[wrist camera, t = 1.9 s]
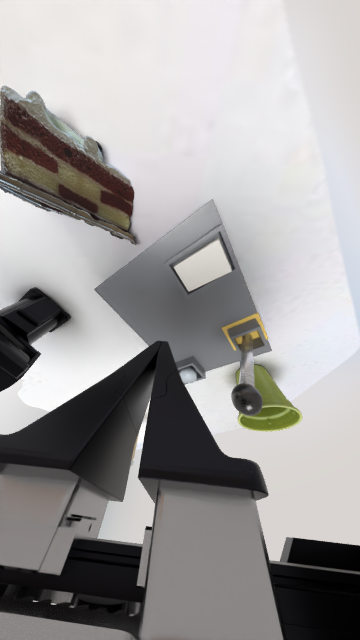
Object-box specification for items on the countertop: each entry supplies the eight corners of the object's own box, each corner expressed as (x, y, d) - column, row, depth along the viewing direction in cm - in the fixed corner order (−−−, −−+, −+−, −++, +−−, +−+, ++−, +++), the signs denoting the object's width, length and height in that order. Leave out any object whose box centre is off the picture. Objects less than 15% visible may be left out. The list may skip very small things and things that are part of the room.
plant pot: (270, 385, 32) (293, 432, 25) (227, 387, 33) (237, 431, 26) (279, 356, 27) (311, 405, 20) (227, 360, 28) (239, 406, 21)
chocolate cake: (160, 177, 15) (-75, -72, 5) (142, 248, 17) (-53, 157, 7) (118, 185, 20) (-37, 67, 11) (108, 238, 22) (-30, 178, 13)
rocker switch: (190, 287, 17) (188, 291, 16) (175, 264, 16) (173, 267, 15) (231, 267, 15) (231, 271, 14) (218, 237, 13) (218, 239, 13)
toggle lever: (235, 341, 21) (227, 413, 13) (239, 327, 20) (234, 399, 12) (254, 346, 21) (257, 426, 12) (260, 332, 19) (269, 412, 11)
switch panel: (182, 368, 31) (180, 388, 27) (103, 282, 21) (84, 295, 17) (265, 339, 25) (279, 360, 21) (210, 201, 15) (217, 194, 11)
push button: (185, 378, 27) (184, 384, 26) (176, 369, 25) (175, 375, 24) (199, 374, 26) (199, 380, 25) (191, 364, 24) (191, 370, 23)
